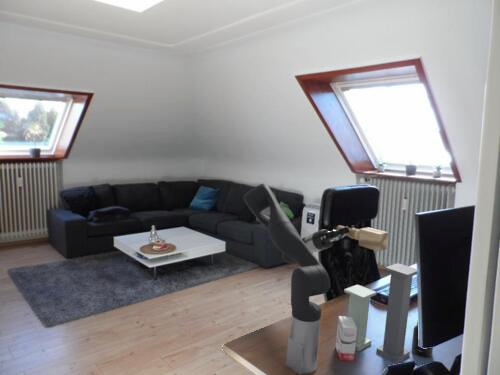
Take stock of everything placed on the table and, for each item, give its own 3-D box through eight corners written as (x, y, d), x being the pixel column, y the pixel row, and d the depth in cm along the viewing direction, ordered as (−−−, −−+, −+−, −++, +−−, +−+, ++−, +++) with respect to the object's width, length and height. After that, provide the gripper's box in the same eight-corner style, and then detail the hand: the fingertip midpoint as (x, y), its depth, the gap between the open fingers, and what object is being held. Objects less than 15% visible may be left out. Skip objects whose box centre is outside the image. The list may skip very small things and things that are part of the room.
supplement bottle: (414, 345, 143) (418, 314, 141) (434, 352, 138) (438, 320, 136) (408, 352, 137) (412, 320, 135) (429, 360, 133) (433, 327, 131)
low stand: (358, 351, 136) (363, 297, 133) (339, 341, 142) (344, 289, 139) (371, 344, 142) (376, 292, 139) (352, 334, 148) (357, 284, 145)
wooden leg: (378, 251, 133) (380, 234, 132) (333, 237, 147) (335, 222, 146) (386, 249, 136) (388, 232, 135) (342, 236, 150) (343, 220, 150)
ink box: (354, 361, 131) (357, 328, 129) (339, 360, 131) (342, 327, 129) (349, 347, 139) (352, 316, 137) (335, 346, 139) (337, 315, 137)
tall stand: (397, 363, 131) (407, 274, 126) (376, 352, 137) (385, 267, 132) (409, 355, 136) (419, 270, 131) (388, 344, 142) (397, 263, 137)
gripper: (303, 234, 153) (335, 221, 140) (326, 230, 162) (359, 217, 149) (309, 253, 151) (342, 241, 139) (332, 247, 160) (366, 235, 147)
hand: (351, 228), depth 144 cm, fingers closed on wooden leg, 3 cm apart
